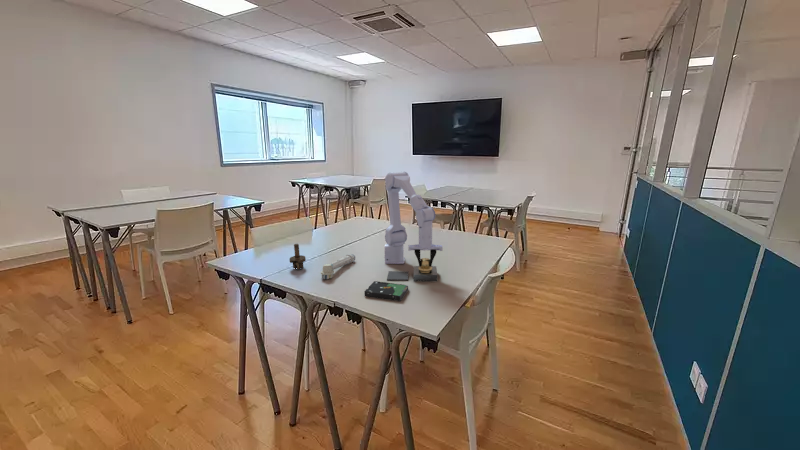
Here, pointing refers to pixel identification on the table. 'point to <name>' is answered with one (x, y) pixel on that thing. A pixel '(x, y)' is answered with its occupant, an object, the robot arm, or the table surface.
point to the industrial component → (297, 258)
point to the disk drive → (386, 291)
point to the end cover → (425, 266)
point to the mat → (397, 276)
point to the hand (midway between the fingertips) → (425, 266)
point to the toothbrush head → (336, 266)
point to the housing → (425, 275)
